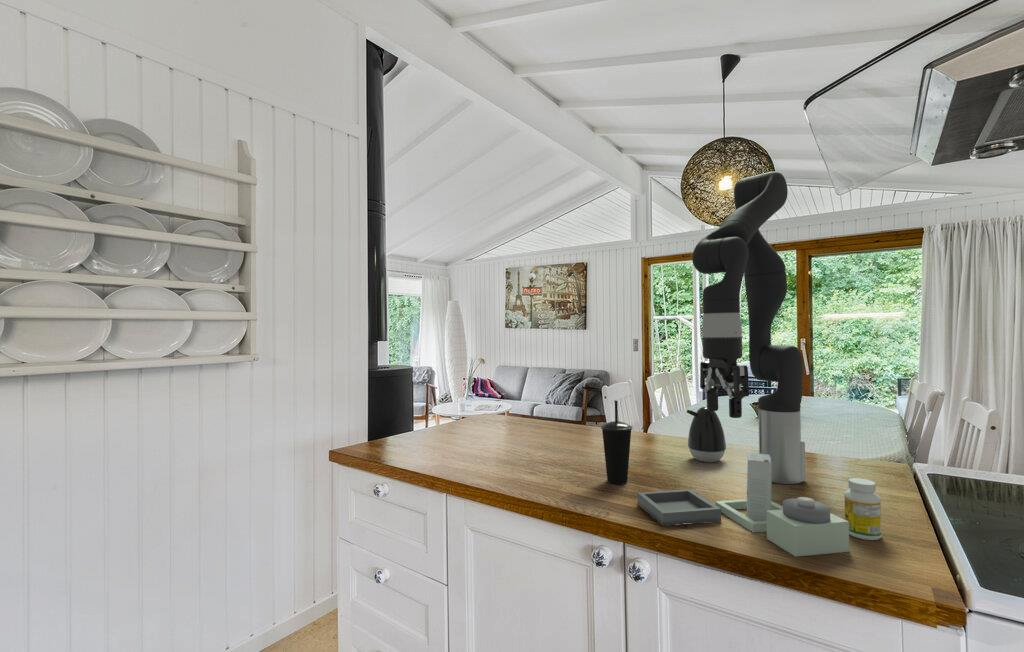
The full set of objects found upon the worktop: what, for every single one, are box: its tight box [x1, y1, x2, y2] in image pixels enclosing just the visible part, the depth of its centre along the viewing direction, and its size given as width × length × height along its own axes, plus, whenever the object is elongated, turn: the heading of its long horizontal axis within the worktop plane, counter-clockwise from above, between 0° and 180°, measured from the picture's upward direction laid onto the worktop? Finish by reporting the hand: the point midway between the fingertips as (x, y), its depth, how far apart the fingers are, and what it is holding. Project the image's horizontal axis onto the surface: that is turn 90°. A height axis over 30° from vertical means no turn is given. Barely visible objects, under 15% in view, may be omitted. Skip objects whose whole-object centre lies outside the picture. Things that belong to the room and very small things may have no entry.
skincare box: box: [746, 452, 772, 521], centre depth 97 cm, size 6×4×12 cm
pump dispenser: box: [686, 406, 727, 463], centre depth 140 cm, size 10×10×15 cm
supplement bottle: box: [843, 477, 882, 541], centre depth 88 cm, size 5×5×10 cm
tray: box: [637, 488, 722, 527], centre depth 100 cm, size 12×12×2 cm
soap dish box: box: [714, 496, 850, 558], centre depth 92 cm, size 11×22×8 cm, turn 9°
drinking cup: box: [600, 400, 633, 485], centre depth 121 cm, size 8×8×20 cm
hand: (723, 414), depth 100 cm, fingers open, 8 cm apart
